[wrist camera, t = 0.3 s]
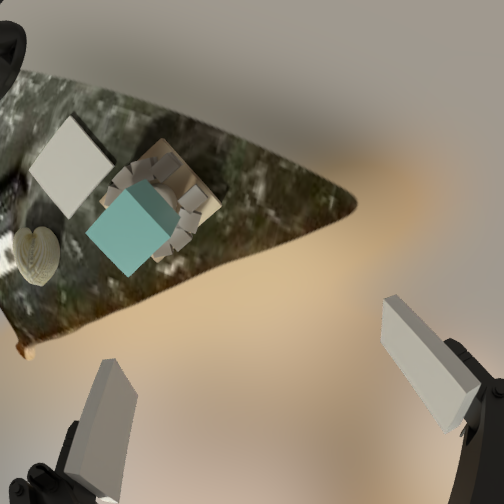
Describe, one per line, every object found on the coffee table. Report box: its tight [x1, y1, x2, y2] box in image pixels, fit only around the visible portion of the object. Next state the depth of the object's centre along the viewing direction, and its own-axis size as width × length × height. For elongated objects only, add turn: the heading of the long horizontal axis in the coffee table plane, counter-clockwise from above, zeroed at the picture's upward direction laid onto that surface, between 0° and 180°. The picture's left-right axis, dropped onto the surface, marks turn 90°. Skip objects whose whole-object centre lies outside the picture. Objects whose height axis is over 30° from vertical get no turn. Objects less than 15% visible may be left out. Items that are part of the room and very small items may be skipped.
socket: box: [100, 138, 222, 263], centre depth 33 cm, size 11×11×6 cm
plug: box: [86, 179, 181, 277], centre depth 28 cm, size 7×5×13 cm
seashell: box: [13, 227, 60, 286], centre depth 34 cm, size 8×8×8 cm
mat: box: [29, 116, 115, 219], centre depth 32 cm, size 10×10×1 cm
